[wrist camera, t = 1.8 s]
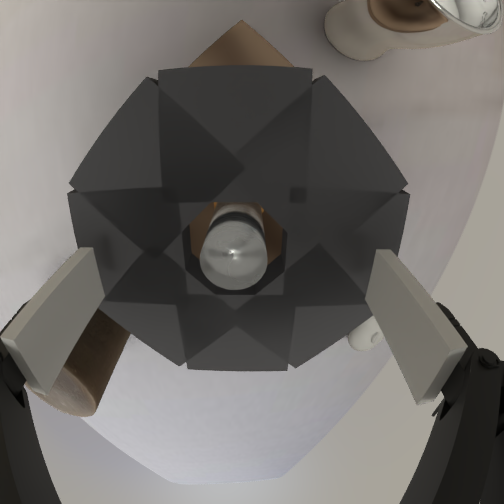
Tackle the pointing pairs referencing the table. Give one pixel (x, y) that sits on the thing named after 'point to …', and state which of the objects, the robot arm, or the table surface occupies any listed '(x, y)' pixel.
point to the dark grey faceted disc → (237, 190)
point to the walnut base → (239, 53)
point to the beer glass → (407, 24)
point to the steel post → (235, 246)
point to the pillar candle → (87, 367)
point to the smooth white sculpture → (365, 335)
